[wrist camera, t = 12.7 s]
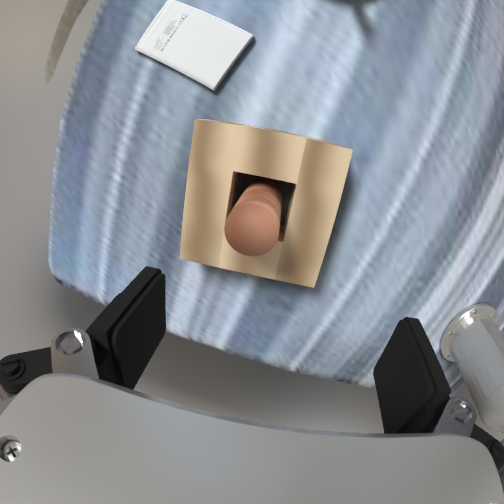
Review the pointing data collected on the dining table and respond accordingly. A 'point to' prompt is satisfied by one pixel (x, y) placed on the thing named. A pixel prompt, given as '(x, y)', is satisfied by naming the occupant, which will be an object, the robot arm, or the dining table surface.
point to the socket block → (270, 166)
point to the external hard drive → (194, 42)
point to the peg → (255, 218)
